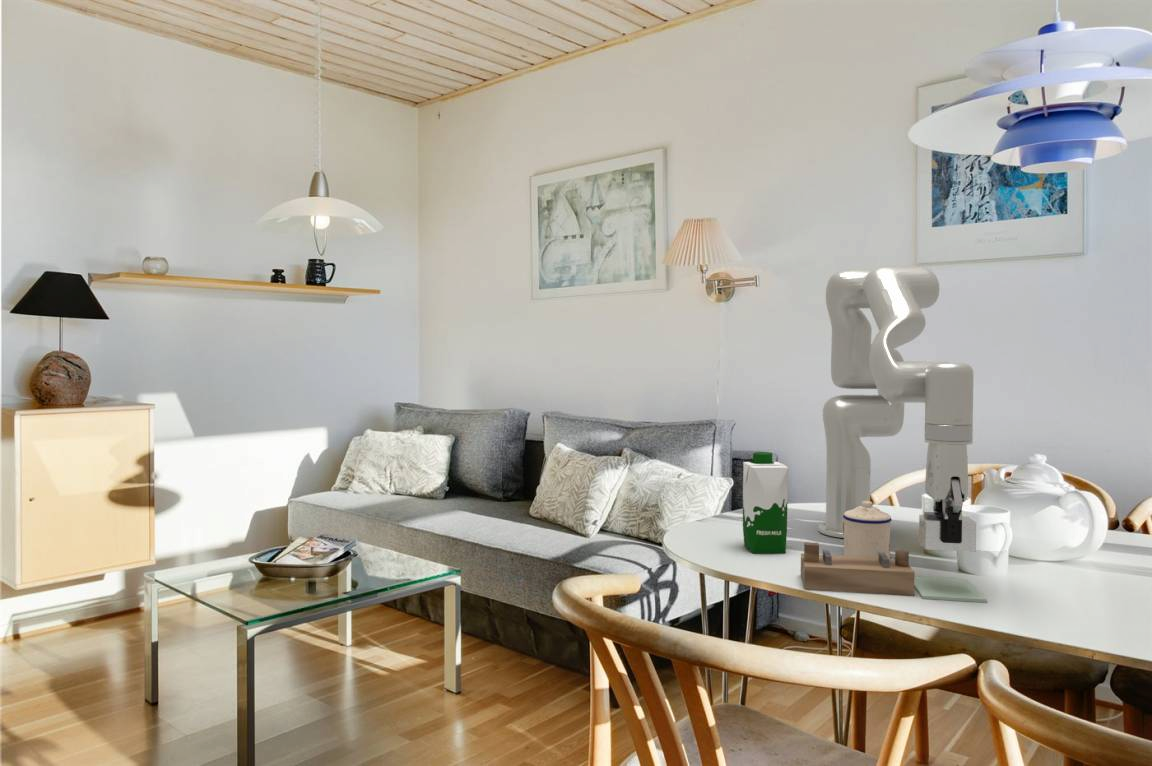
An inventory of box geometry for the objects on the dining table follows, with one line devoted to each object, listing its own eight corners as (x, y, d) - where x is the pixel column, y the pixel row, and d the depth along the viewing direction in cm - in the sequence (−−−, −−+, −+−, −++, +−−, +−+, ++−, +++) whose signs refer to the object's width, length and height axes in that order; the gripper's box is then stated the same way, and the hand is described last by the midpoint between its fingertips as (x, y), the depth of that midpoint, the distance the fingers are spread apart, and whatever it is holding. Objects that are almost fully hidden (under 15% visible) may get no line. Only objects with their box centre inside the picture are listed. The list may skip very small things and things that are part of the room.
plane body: (800, 575, 148) (801, 537, 147) (903, 580, 144) (904, 542, 144) (804, 589, 139) (804, 549, 138) (914, 595, 135) (914, 554, 135)
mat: (907, 578, 145) (907, 576, 145) (966, 582, 143) (966, 579, 143) (922, 598, 133) (922, 595, 133) (986, 602, 131) (986, 599, 131)
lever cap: (919, 542, 141) (919, 510, 141) (967, 544, 139) (968, 512, 139) (925, 549, 136) (925, 515, 136) (975, 551, 134) (976, 517, 134)
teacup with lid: (901, 563, 156) (902, 504, 155) (862, 567, 153) (862, 507, 152) (861, 549, 167) (862, 494, 167) (824, 552, 164) (825, 496, 164)
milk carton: (779, 543, 171) (780, 451, 171) (791, 554, 162) (792, 457, 162) (738, 544, 171) (739, 451, 170) (749, 554, 162) (749, 457, 161)
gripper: (914, 429, 146) (913, 527, 147) (937, 438, 130) (935, 549, 130) (958, 430, 145) (957, 529, 145) (986, 439, 128) (985, 551, 129)
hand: (946, 537), depth 138 cm, fingers closed on lever cap, 5 cm apart
